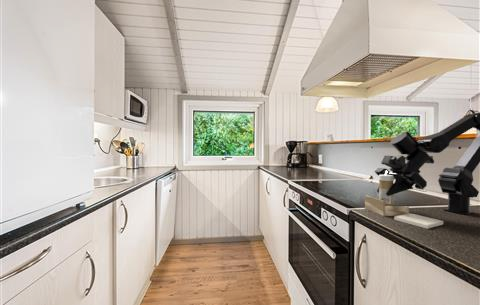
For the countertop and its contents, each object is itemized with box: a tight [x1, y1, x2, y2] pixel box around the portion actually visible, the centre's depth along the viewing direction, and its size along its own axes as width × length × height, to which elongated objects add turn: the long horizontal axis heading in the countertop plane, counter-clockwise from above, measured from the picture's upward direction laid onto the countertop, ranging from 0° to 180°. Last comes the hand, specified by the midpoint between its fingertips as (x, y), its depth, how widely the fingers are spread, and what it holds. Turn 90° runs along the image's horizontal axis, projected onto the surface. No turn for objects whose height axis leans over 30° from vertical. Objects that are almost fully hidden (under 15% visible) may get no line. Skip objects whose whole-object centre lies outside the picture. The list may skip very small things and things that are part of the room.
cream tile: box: [393, 212, 444, 230], centre depth 70 cm, size 9×9×1 cm
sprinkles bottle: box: [378, 175, 395, 206], centre depth 81 cm, size 5×5×14 cm
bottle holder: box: [364, 194, 410, 217], centre depth 81 cm, size 10×10×5 cm
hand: (382, 193), depth 81 cm, fingers closed on sprinkles bottle, 4 cm apart
